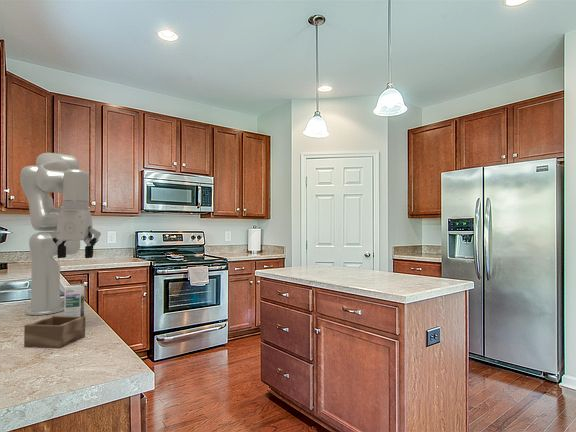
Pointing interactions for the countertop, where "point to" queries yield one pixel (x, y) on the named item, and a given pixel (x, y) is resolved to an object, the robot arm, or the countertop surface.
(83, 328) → the walnut holder
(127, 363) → the countertop surface
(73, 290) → the syrup box
